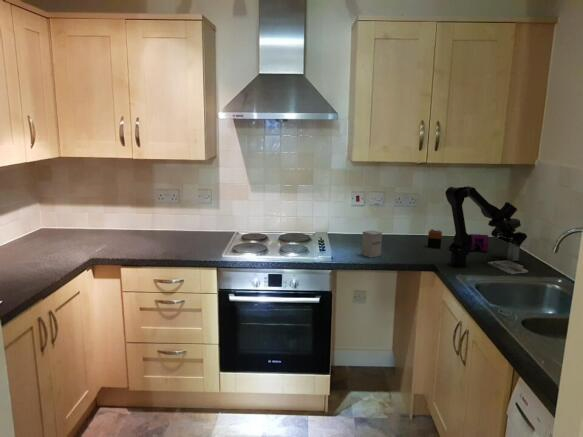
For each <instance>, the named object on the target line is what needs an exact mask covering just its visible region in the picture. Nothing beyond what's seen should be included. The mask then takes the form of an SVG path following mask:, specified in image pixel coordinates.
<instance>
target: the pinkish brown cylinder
mask: <svg viewBox="0 0 583 437" xmlns="http://www.w3.org/2000/svg"><path fill="white" fill-rule="evenodd" d="M361 237H362V238H361V239H362V240H361V241H362V242H361V255H362V256H364V257H367V258H369V259H371V258H376V257H380V256H381V255H382V242H383V233H382V232H381V231H377V230H374V229H371V230H365V231H362V236H361Z"/></svg>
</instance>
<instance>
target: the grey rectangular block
mask: <svg viewBox="0 0 583 437" xmlns="http://www.w3.org/2000/svg"><path fill="white" fill-rule="evenodd" d="M511 241H512V240H509V243H508V246H507V256H506V257H507V258H506V260H509V261H512V262H518V261H519V257H520V249H521V246H520V247H518V246H516V245H514V244H512V243H510V242H511Z"/></svg>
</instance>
